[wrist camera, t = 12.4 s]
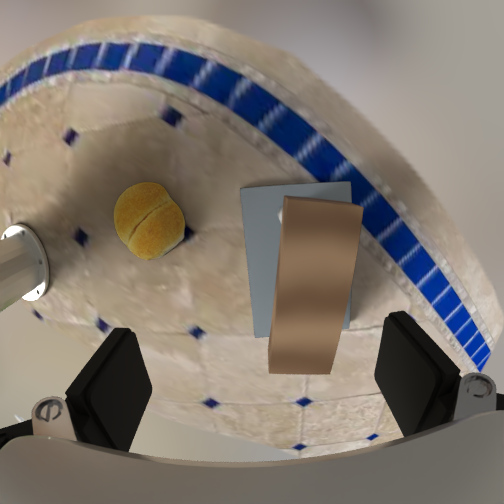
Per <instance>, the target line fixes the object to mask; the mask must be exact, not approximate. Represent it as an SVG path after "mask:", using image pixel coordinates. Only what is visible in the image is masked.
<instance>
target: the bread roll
mask: <svg viewBox="0 0 504 504" xmlns="http://www.w3.org/2000/svg"><path fill="white" fill-rule="evenodd" d="M114 225H115V229H116V232H117V234H118V236H119V238H120V239H121V240H122V241H123V243H124V244H125V245H126V246H127V247H128V248H129V249H130V251H131V252H132V253H133V254H134V255H136V256H137V257H139V258H141V259H144V260H152V259H156V258H161V257H162V256H164V255H165V254H166V253H168V252H169V251H170V250H171V249H173V248H174V247H175V246H176V245H177V244H178V243H179V242H180V241H182V239H183V238H184V229H185V220H184V216H183V214H182V211H181V209H180V208H179V206H178V205H177V204H176V203H175V202H174V201H173V200H172V199H171V198H170V196H169V195H168V193H167V191H166V190H165V188H164V187H163V186H161V185H160V184H158V183H153V182H142V183H138V184H135V185H133V186H131V187H129V188H128V189H126V190H125V191H124V192H123V193H122V194H121V195H120V197H119V198H118V200H117V202H116V205H115V208H114Z"/></svg>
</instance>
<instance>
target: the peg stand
mask: <svg viewBox="0 0 504 504" xmlns="http://www.w3.org/2000/svg"><path fill="white" fill-rule="evenodd" d="M240 193H241V204H242V214H243V224H244V234H245V245H246V255H247V265H248V275H249V285H250V294H251V304H252V314H253V324H254V333H255V338H260V337H270V329H271V320H272V311H273V302H274V293H275V284H276V274H277V264H278V254H279V244H280V233H281V222H282V211H283V199H284V195H287V196H298V197H308V198H318V199H327V200H336V201H344V202H350V203H352V199H351V182H347V181H346V182H320V183H301V184H286V185H272V186H259V187H248V188H240ZM351 289H352V284H351ZM351 289H350V294H349V299H348V304H347V308H346V313H345V317H344V322H343V326H342V329H349V324H350V309H351Z"/></svg>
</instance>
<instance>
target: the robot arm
mask: <svg viewBox="0 0 504 504" xmlns="http://www.w3.org/2000/svg"><path fill="white" fill-rule="evenodd" d="M48 283H49V266H48V261H47V257H46V254H45V251H44V248H43V246H42V244H41V242H40V240H39V239H38V237H37V236H36V234H35V233H34V232H33V231H32V230H31V229H30V228H29V227H27V226H25V225H22V224H15V225H12V226H10V227H8V228H7V229H6V230H5V232H4V234H3V236H2V239H1V240H0V312H1V311H3V310H4V309H6V308H7V307H9V306H10V305H12V304H13V303H15V302H16V301H18V300H19V299H21V298H24V299H26V300H30V301H33V300H37V299H38V298H40V297H41V296H43V295H44V293H45V292H46V290H47V287H48ZM460 371H461V370H460V369H459V368H458V367H457V366H456V365H455V364H454V362H453V361H452V360H451V359H450V358H449V357H448V356H447V355H446V354H445V353H444V351H443V350H442V349H441V348H440V347H439V346H438V345H437V344H436V343H435V342H434V341H433V340H432V339H431V338H430V336H429V335H428V334H427V333H426V332H425V331H424V330H423V329H422V328H421V327H420V326H419V325H418V324H417V323H416V322H415V321H414V320H413V319H412V318H411V317H410V316H409V315H408V314H407V313H406V312H405V311H398V312H392V313H390V314H389V315H388V317H386V318H385V320H384V326H383V332H382V337H381V343H380V348H379V353H378V358H377V363H376V368H375V373H374V376H375V381H376V383H377V385H378V387H379V388H380V390H381V392H382V394H383V396H384V398H385V400H386V402H387V404H388V406H389V408H390V410H391V412H392V414H393V416H394V418H395V420H396V421H397V423H398V425H399V428H400V430H401V432H402V434H403V436H404V437H403V438H400V439H396V440H393V441H389V442H385V443H382V444H378V445H374V446H370V447H366V448H361V449H357V450H352V451H347V452H341V453H336V454H330V455H323V456H317V457H309V458H301V459H291V460H281V461H264V462H206V461H191V460H179V459H169V458H161V457H154V456H148V455H141V454H136V453H130V452H129V449H130V446H131V444H132V441H133V439H134V436H135V434H136V431H137V428H138V426H139V423H140V421H141V418H142V416H143V413H144V411H145V409H146V406H147V404H148V401H149V399H150V396H151V394H152V385H151V382H150V379H149V376H148V373H147V370H146V367H145V364H144V360H143V357H142V354H141V351H140V347H139V344H138V341H137V337H136V334H135V333H134V332H132V331H131V330H130V329H129V328H114V329H113V331H112V332H111V333H110V334H109V336H108V337H107V338H106V339H105V341H104V342H103V343H102V344H101V346H100V347H99V348H98V350H97V351H96V352H95V353H94V355H93V356H92V357H91V359H90V360H89V361H88V363H87V364H86V365H85V366H84V368H83V369H82V370H81V372H80V373H79V374H78V376H77V377H76V379H75V380H74V381H73V382H72V384H71V385H70V387H69V388H68V389H67V391H66V392H65V394H66V395H67V398H66V399H65V401H64V400H63V399H62V398H60V397H55V396H52V397H46V398H44V399H42V400H40V401H39V402H37V403H36V404H35V406H34V407H33V409H32V419H30V420H27V421H24V422H21V423H18V424H15V425H11V426H8V427H5V428H2V429H0V504H504V394H499V393H496V385H495V383H494V381H493V380H492V379H491V378H490V377H489V376H487V375H485V374H481V373H469V374H467V375H465V376H464V377H463V378H462V377H461V376H460V375H459V373H460Z"/></svg>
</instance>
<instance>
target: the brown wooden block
mask: <svg viewBox="0 0 504 504" xmlns="http://www.w3.org/2000/svg"><path fill="white" fill-rule="evenodd" d="M363 208H364V207H361V206H358V205H356V204H353V203H350V202H344V201H336V200H327V199H318V198H308V197H298V196H287V195H284V199H283V211H282V222H281V233H280V244H279V254H278V264H277V274H276V284H275V293H274V302H273V311H272V320H271V329H270V337H269V345H268V364H269V373H272V374H330V372H331V369H332V365H333V361H334V358H335V354H336V350H337V346H338V342H339V338H340V334H341V330H342V326H343V322H344V317H345V313H346V308H347V304H348V299H349V294H350V289H351V284H352V279H353V274H354V268H355V262H356V257H357V251H358V244H359V238H360V231H361V224H362V216H363Z"/></svg>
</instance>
